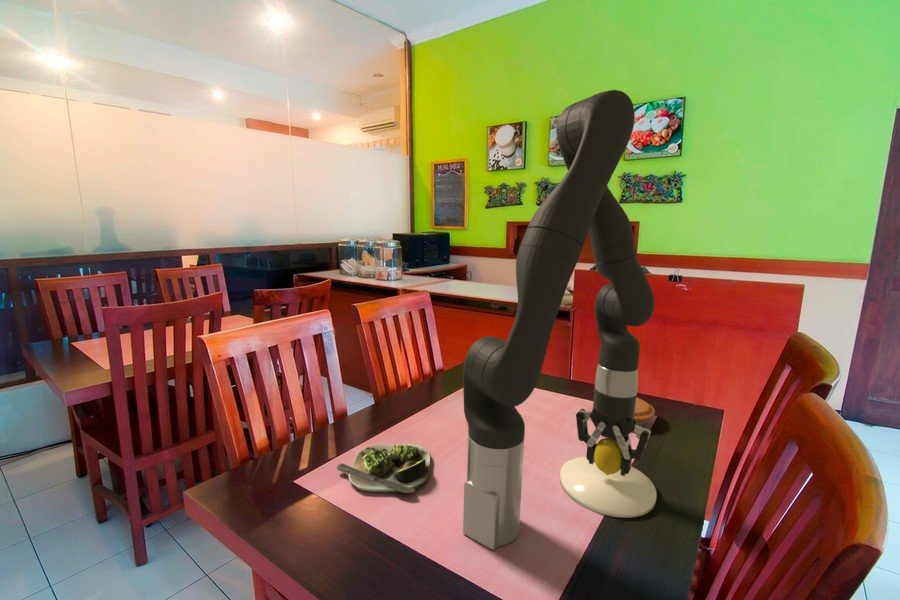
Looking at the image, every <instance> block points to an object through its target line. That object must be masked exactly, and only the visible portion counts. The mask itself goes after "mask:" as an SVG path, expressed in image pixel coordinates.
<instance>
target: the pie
mask: <svg viewBox="0 0 900 600" xmlns="http://www.w3.org/2000/svg"><path fill="white" fill-rule="evenodd" d="M655 413H656V410H655V408H654V407H653V405H651V404H650V403H648V402H647V401H645V400H643V399H641V398H640V397H638V396H636V404H635V414H634V419H635V422H636V425H638V426H640V427H643V426H644V425H645V424H646V423H647V422H649V420H650V419H652V418H653V417H654V415H655Z"/></svg>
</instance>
